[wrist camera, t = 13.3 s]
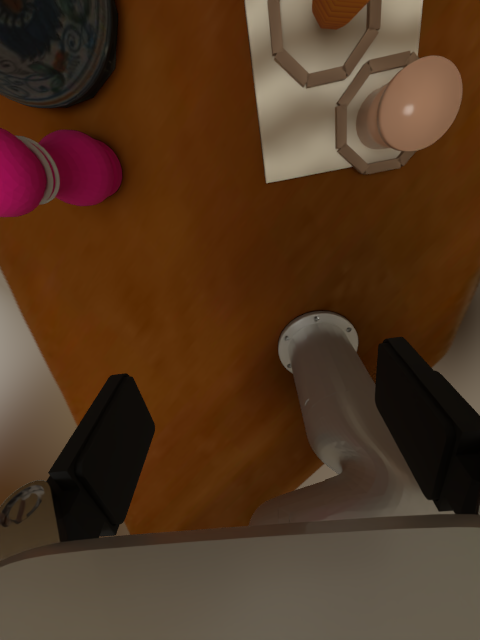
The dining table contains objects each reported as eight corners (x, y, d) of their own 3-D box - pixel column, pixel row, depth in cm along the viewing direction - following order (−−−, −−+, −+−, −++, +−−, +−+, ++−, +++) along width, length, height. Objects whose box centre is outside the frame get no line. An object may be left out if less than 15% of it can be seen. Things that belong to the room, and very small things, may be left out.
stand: (418, 162, 33) (429, 162, 31) (266, 191, 35) (268, 193, 33) (454, -165, 22) (475, -197, 20) (232, -99, 24) (231, -122, 22)
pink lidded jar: (410, 147, 31) (454, 143, 25) (351, 159, 32) (379, 157, 25) (418, 73, 28) (470, 46, 22) (352, 88, 29) (383, 66, 22)
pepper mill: (52, 156, 34) (-155, 148, 16) (97, 119, 32) (-82, 66, 14) (95, 212, 37) (-41, 256, 19) (139, 181, 35) (31, 200, 17)
